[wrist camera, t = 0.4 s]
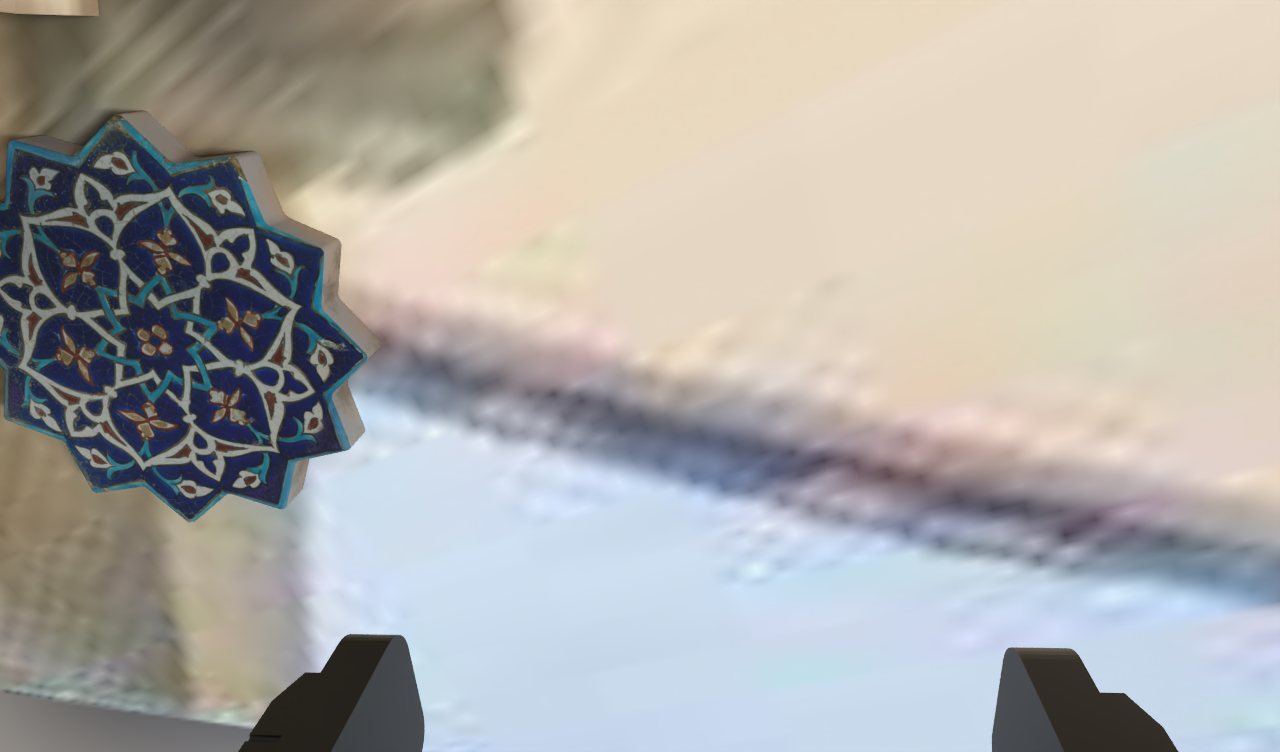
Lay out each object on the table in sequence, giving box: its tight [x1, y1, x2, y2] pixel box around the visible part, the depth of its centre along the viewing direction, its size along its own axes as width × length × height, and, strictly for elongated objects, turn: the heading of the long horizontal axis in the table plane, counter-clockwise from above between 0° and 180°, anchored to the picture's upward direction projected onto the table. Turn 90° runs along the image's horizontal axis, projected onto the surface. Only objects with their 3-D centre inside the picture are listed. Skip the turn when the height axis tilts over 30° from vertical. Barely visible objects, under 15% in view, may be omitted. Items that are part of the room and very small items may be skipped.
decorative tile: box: [0, 111, 382, 523], centre depth 40 cm, size 20×20×2 cm
